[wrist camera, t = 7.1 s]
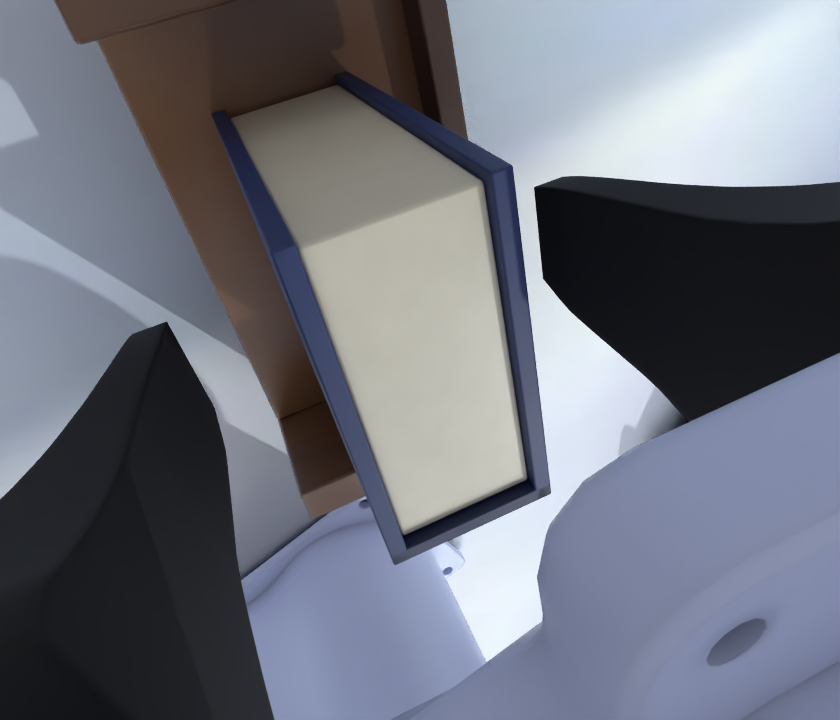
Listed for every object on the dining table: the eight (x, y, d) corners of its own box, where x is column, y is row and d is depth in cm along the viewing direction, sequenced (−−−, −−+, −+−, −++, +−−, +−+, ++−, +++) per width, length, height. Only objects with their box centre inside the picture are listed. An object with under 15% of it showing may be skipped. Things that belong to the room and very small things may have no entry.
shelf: (268, 372, 21) (312, 521, 15) (78, -39, 14) (35, -35, 8) (442, 304, 22) (541, 420, 17) (351, -110, 15) (473, -147, 9)
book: (303, 344, 16) (394, 566, 10) (210, 113, 13) (269, 251, 7) (408, 304, 17) (552, 493, 11) (347, 70, 13) (513, 164, 7)
